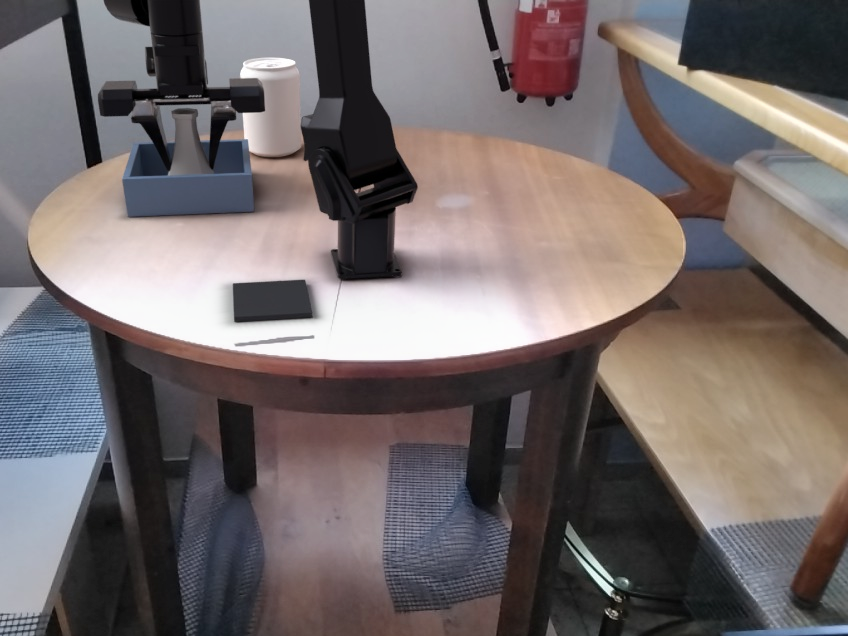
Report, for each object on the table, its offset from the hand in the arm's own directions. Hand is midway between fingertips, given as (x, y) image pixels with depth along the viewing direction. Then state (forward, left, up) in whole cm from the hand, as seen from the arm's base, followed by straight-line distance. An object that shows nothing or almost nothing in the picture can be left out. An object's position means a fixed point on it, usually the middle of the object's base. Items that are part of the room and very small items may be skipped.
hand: (190, 169), depth 97 cm
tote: (0, 0, -3) cm, 3 cm away
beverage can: (+17, -11, -3) cm, 20 cm away
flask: (0, 0, -3) cm, 3 cm away
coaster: (-31, -8, -3) cm, 32 cm away
